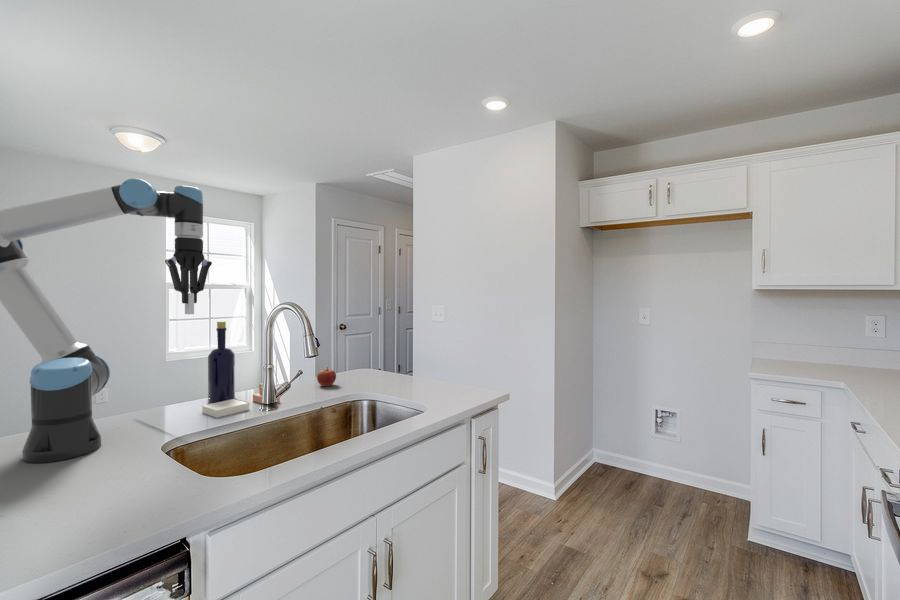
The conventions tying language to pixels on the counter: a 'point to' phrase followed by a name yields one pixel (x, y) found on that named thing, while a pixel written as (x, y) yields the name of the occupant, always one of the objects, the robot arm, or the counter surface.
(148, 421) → the counter surface
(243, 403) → the cream rectangular slab
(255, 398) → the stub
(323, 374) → the apple
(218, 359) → the bottle
